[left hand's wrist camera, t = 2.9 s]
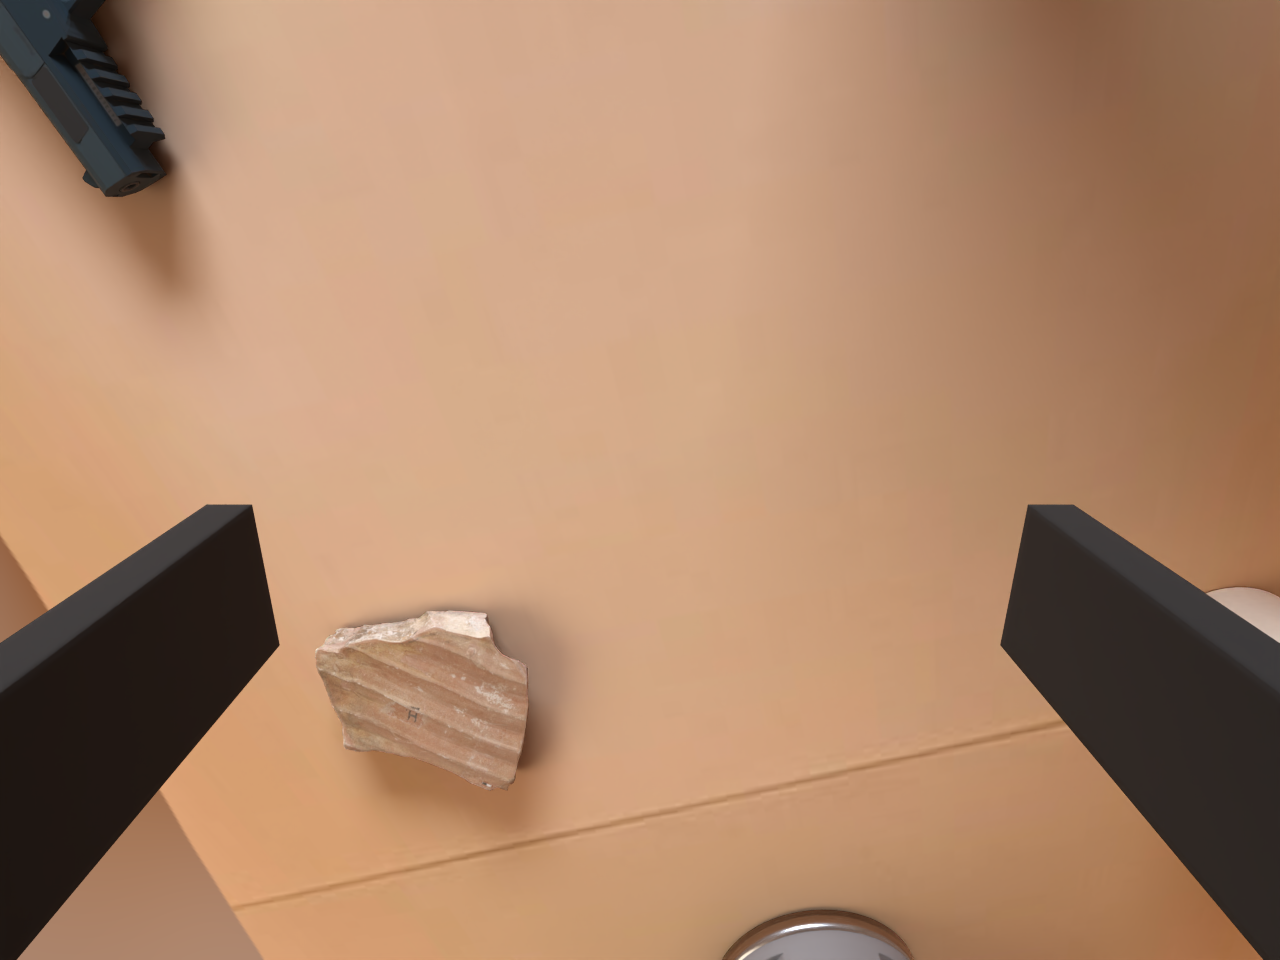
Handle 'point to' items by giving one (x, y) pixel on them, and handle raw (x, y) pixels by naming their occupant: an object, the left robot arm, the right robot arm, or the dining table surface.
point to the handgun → (81, 91)
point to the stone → (430, 694)
